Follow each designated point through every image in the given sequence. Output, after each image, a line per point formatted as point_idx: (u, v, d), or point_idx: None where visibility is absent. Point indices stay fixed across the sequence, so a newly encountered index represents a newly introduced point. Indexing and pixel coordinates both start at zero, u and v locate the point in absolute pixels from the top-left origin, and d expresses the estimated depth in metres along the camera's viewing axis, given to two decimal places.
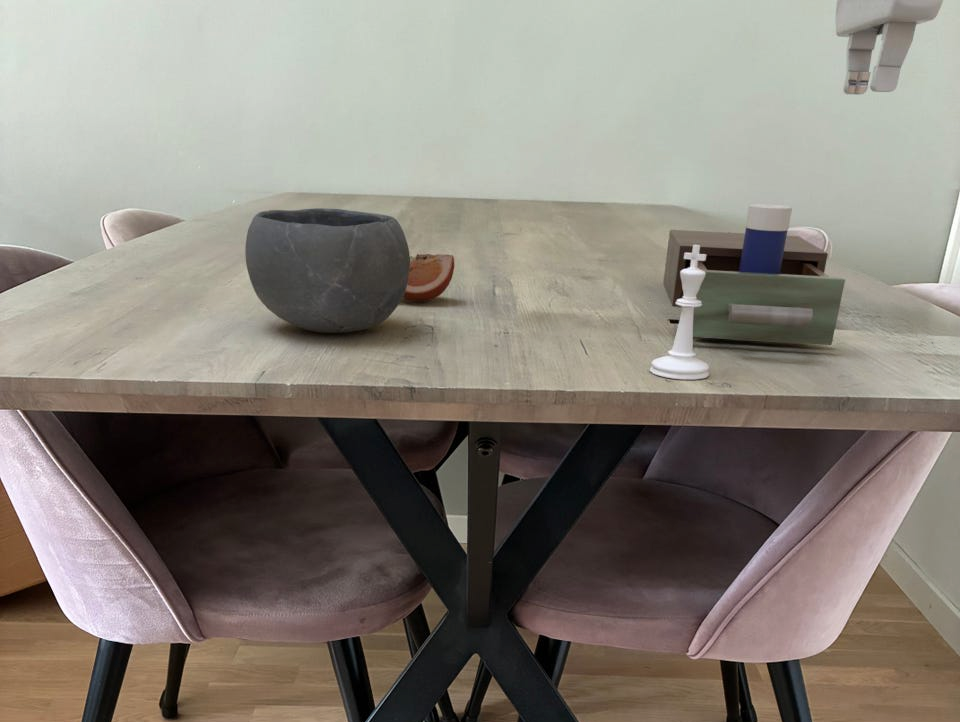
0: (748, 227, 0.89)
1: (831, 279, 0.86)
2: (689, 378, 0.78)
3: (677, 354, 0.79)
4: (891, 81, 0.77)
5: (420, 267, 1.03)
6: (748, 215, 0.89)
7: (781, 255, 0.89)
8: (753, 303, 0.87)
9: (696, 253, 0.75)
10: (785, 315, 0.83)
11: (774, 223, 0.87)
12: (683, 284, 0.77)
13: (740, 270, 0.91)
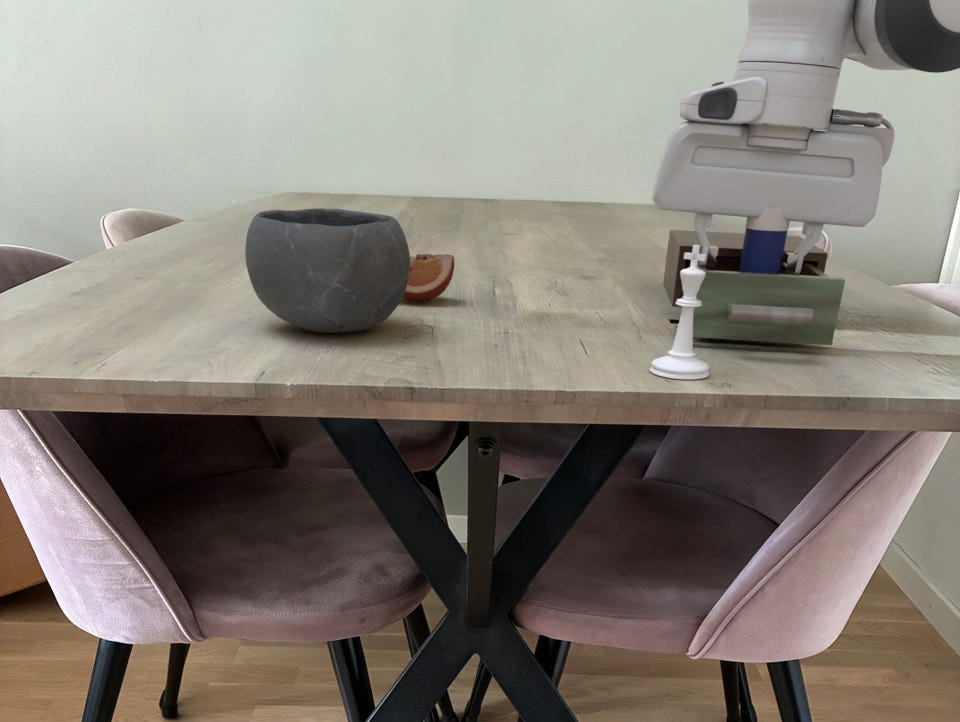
0: (748, 227, 0.89)
1: (831, 279, 0.86)
2: (689, 378, 0.78)
3: (677, 354, 0.79)
4: None
5: (421, 267, 1.03)
6: None
7: (781, 255, 0.89)
8: (753, 303, 0.87)
9: (696, 253, 0.75)
10: (785, 315, 0.83)
11: (774, 223, 0.87)
12: (683, 284, 0.77)
13: (740, 270, 0.91)
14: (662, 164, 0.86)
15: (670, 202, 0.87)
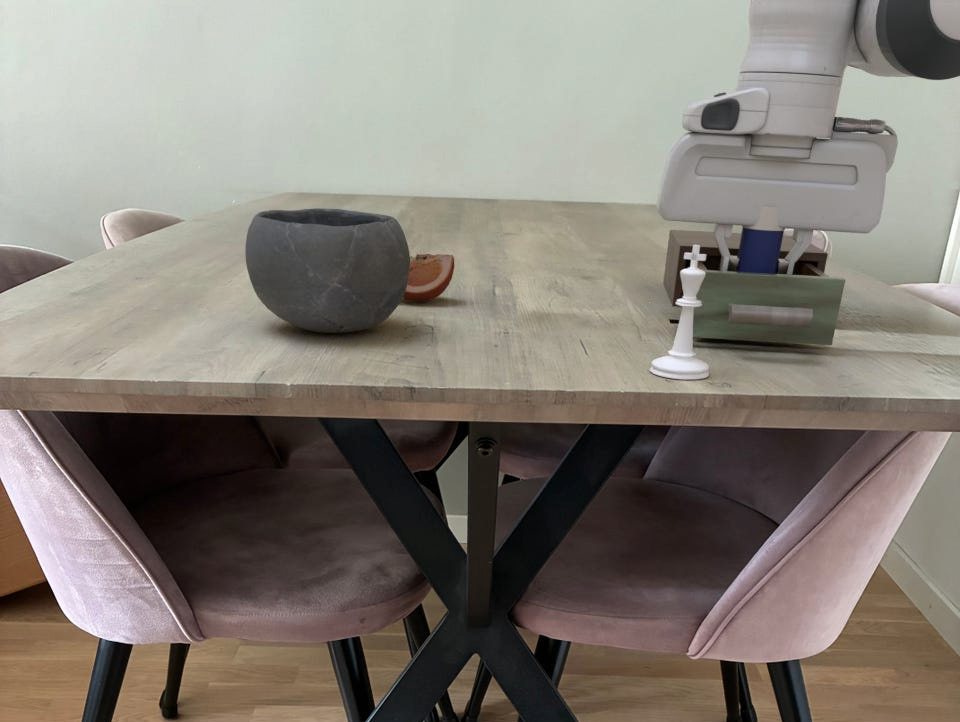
0: (745, 226, 0.89)
1: (831, 279, 0.85)
2: (689, 378, 0.78)
3: (677, 354, 0.79)
4: None
5: (420, 267, 1.03)
6: None
7: (777, 255, 0.89)
8: (753, 303, 0.87)
9: (696, 253, 0.75)
10: (786, 315, 0.83)
11: (771, 223, 0.87)
12: (683, 284, 0.77)
13: None
14: (666, 175, 0.86)
15: (675, 213, 0.88)
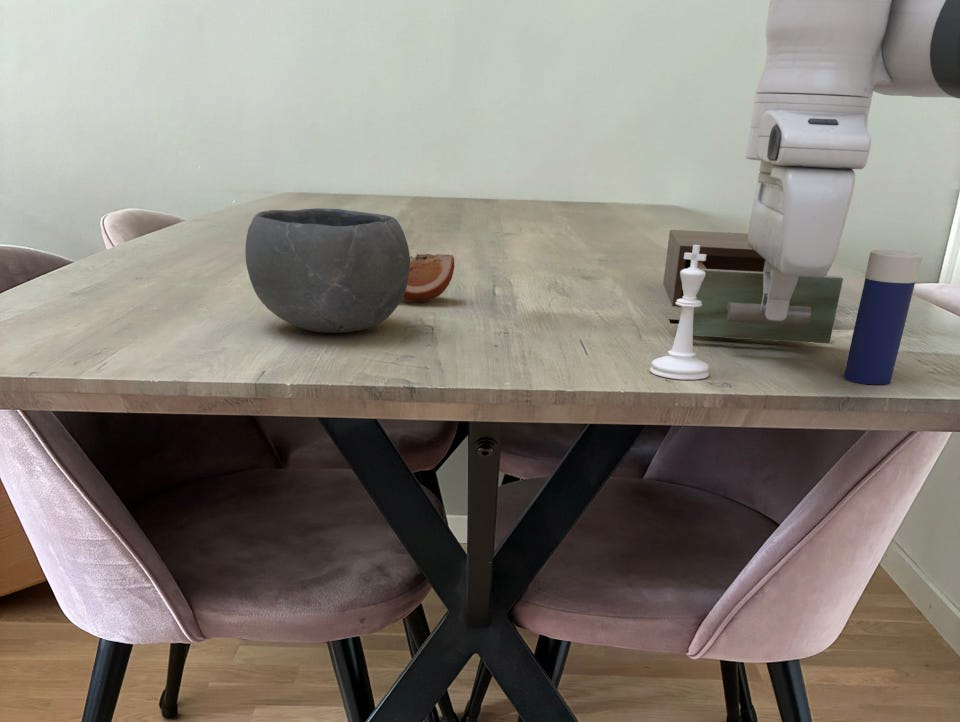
0: (869, 278, 0.76)
1: (829, 278, 0.86)
2: (689, 378, 0.78)
3: (677, 354, 0.79)
4: None
5: (421, 267, 1.03)
6: (870, 264, 0.76)
7: (907, 310, 0.77)
8: (752, 302, 0.88)
9: (696, 253, 0.75)
10: None
11: (902, 274, 0.75)
12: (683, 284, 0.77)
13: (857, 326, 0.78)
14: (843, 225, 0.70)
15: None
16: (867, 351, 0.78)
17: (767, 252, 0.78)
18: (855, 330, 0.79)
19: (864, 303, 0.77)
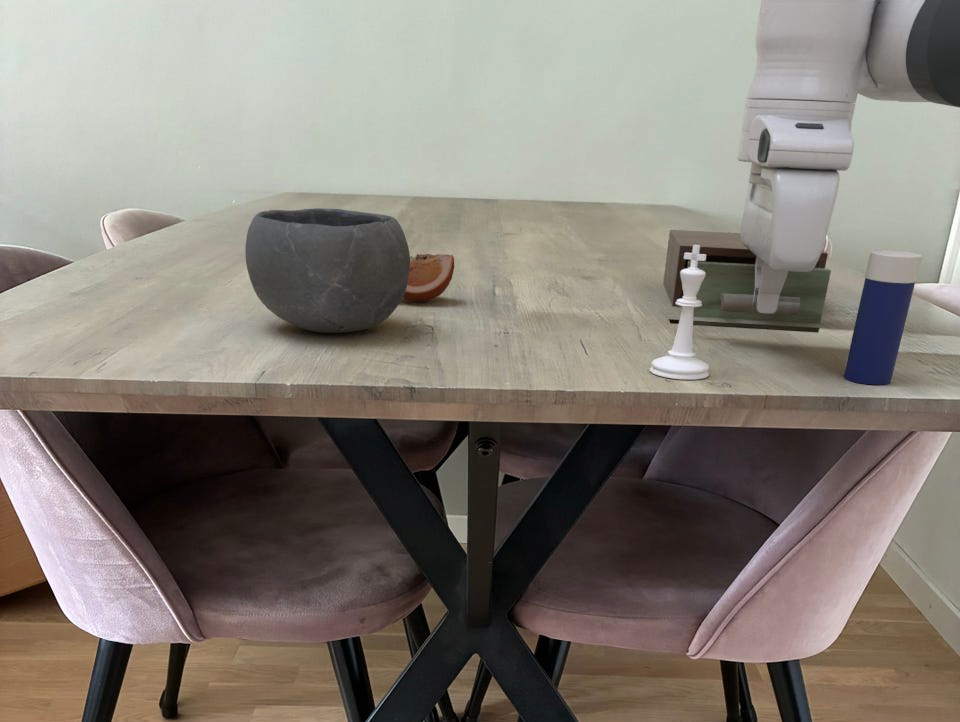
0: (869, 278, 0.76)
1: (818, 270, 0.91)
2: (689, 378, 0.78)
3: (677, 354, 0.79)
4: None
5: (420, 267, 1.03)
6: (870, 264, 0.76)
7: (907, 310, 0.77)
8: (744, 293, 0.92)
9: (696, 253, 0.75)
10: None
11: (902, 274, 0.75)
12: (683, 284, 0.77)
13: (857, 326, 0.78)
14: (828, 222, 0.75)
15: None
16: (867, 351, 0.78)
17: (758, 249, 0.83)
18: (855, 330, 0.79)
19: (864, 303, 0.77)
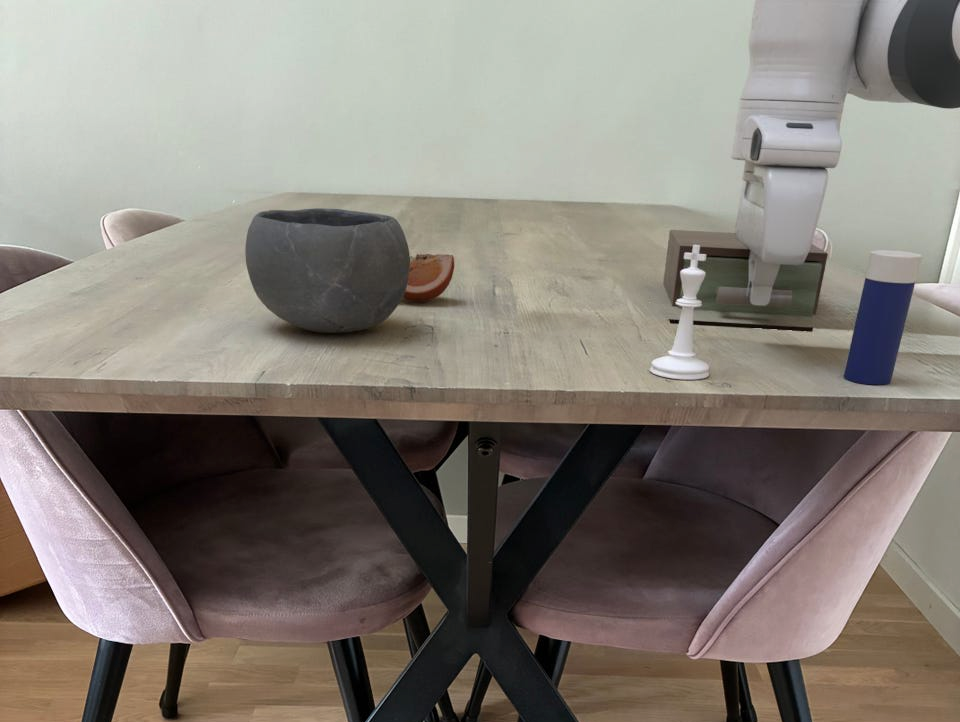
0: (869, 278, 0.76)
1: (809, 264, 0.94)
2: (689, 378, 0.78)
3: (677, 354, 0.79)
4: None
5: (420, 267, 1.03)
6: (870, 264, 0.76)
7: (907, 310, 0.77)
8: (739, 286, 0.96)
9: (696, 253, 0.75)
10: None
11: (902, 274, 0.75)
12: (683, 284, 0.77)
13: (857, 326, 0.78)
14: (817, 218, 0.78)
15: None
16: (867, 351, 0.78)
17: (751, 243, 0.86)
18: (855, 330, 0.79)
19: (864, 303, 0.77)
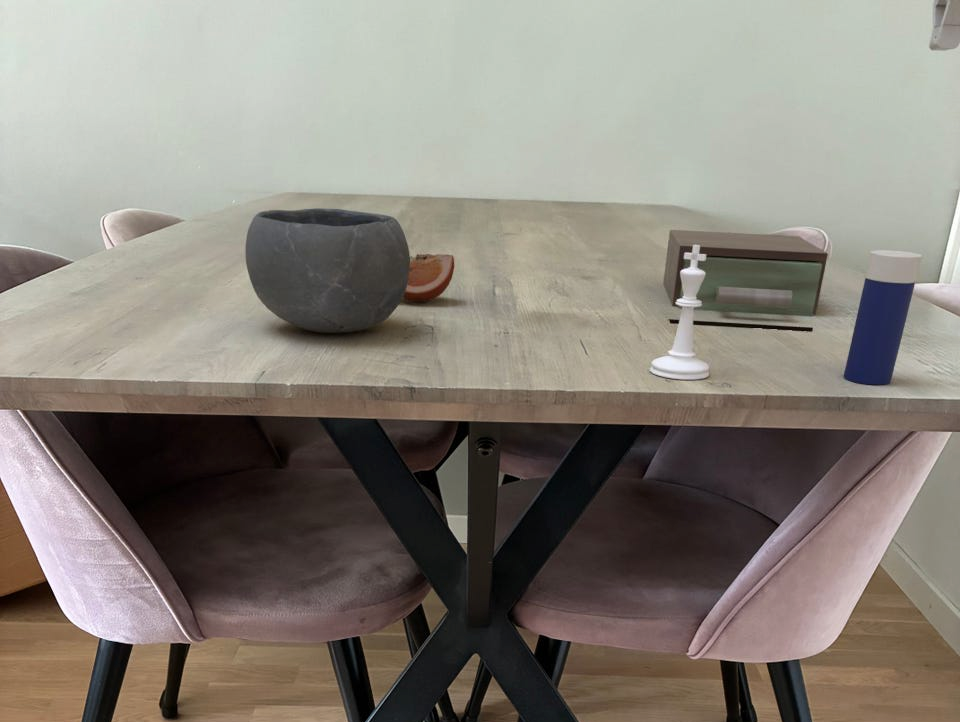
0: (869, 278, 0.76)
1: (809, 264, 0.94)
2: (689, 378, 0.78)
3: (677, 354, 0.79)
4: None
5: (420, 267, 1.03)
6: (870, 264, 0.76)
7: (907, 310, 0.77)
8: (739, 286, 0.96)
9: (696, 253, 0.75)
10: (767, 296, 0.92)
11: (902, 274, 0.75)
12: (683, 284, 0.77)
13: (857, 326, 0.78)
14: None
15: None
16: (867, 351, 0.78)
17: None
18: (855, 330, 0.79)
19: (864, 303, 0.77)
